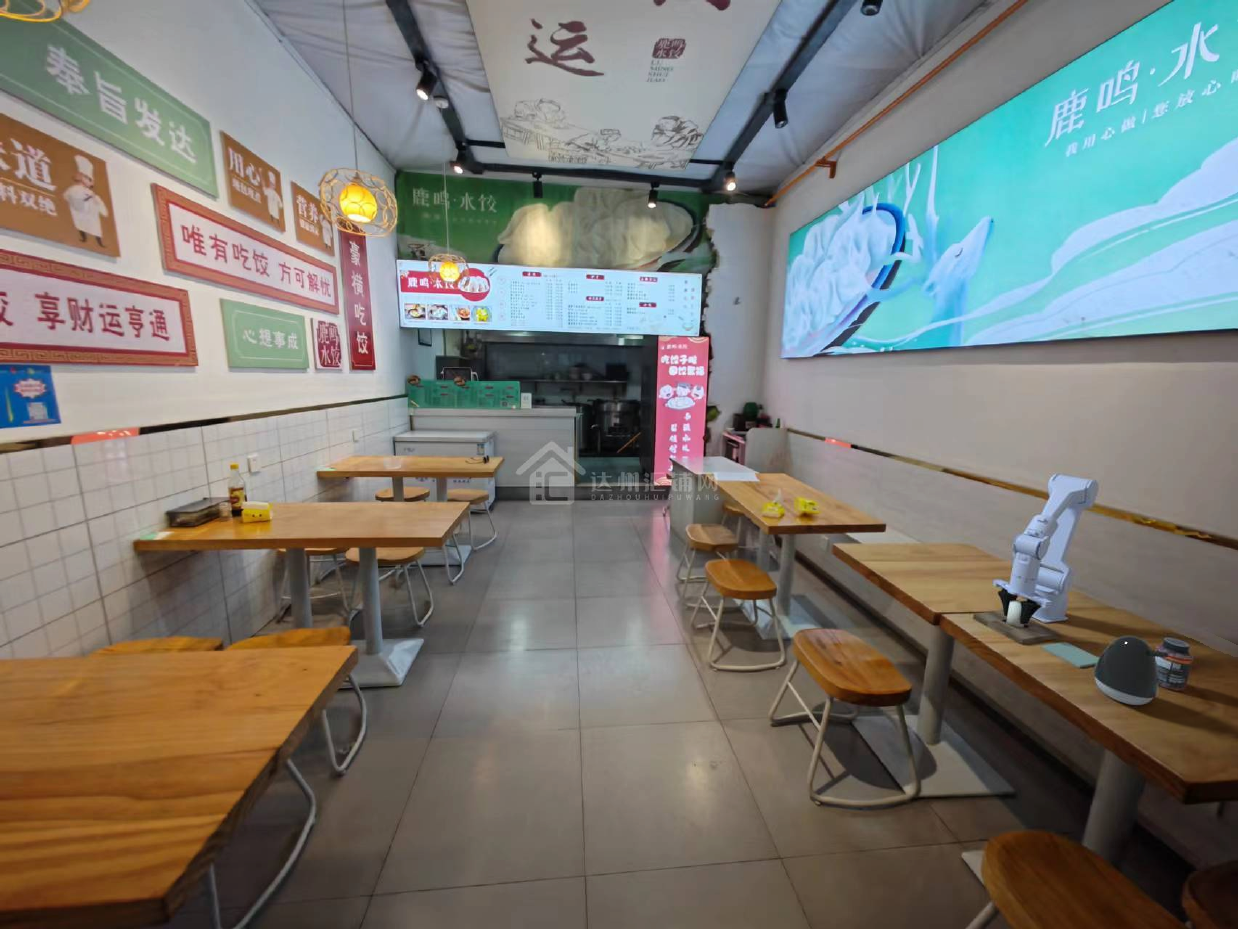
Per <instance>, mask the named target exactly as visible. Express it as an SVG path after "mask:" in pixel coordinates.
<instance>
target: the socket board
mask: <svg viewBox="0 0 1238 929" xmlns="http://www.w3.org/2000/svg"><path fill="white" fill-rule="evenodd" d="M972 619H973V620H974V621H977V622H979V623H980V624H983V626H986V627H988V628H989V629H992V630H993V631H996V632H997V633H999V634H1001V635H1003V636H1005V637H1006V638H1008V639H1011V640H1013V641H1014V642H1017V643H1018V644H1020V645H1026V644H1031V643H1038V642H1044V641H1045V642H1046V641H1049V640H1056V639H1057V640H1058V639H1059V638H1060V637H1061V636H1060V635H1061V632H1060V633H1059V632H1057V631H1056V630H1053V629H1052V628H1049V627H1047V626H1045V625H1043V624H1041V623H1039V622H1036V621H1035V620H1032V619H1030V620H1029V622H1028V624H1024V628H1021V629H1017V628H1015V627H1013V626H1011V625H1009V624H1007V623H1006V621H1007V616H1005V615H1004V611H1003V609H1002V610H996V611H994V610H993V611H988V612H981V613H980V612H979V613H973V617H972Z"/></svg>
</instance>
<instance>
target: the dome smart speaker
mask: <svg viewBox="0 0 1238 929" xmlns="http://www.w3.org/2000/svg"><path fill="white" fill-rule="evenodd" d="M1168 656H1169V655H1168V653H1167V652H1161V651H1155V649H1152V648H1151V647H1150V645H1149V643H1148V642H1147V641H1145V640H1143V639H1142V638H1140V637H1138V636H1135V635H1124V636H1123V635H1122V636H1120V637H1118V638H1116V639H1115V640H1113V641H1112V642H1111V643H1110V644H1109V645H1108V646H1107V647H1106V648H1105V649H1104V650H1103V651H1102V653H1101V655H1100V656H1099V657H1098V658H1099V659H1098V661H1097V663H1096V665H1094V669H1093V672H1092V673H1093V676H1094V679H1095V680H1094V681H1095V683H1096V685H1097V687H1098V688H1099V689H1100V691H1101V692H1102V693H1103V694H1105V695H1106V696H1108V697H1110V699H1113V700H1114V701H1116V702H1117V701H1118V702H1119V703H1123V704H1127V705H1132V706H1139V705H1140V706H1141V705H1147V704H1148V703H1150V702H1151V701H1152V700H1153V699H1154V698H1156V697H1157V695H1158V693H1159V687H1160V686H1159V673H1158V666H1157V662H1156V659H1155V657H1168Z"/></svg>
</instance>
